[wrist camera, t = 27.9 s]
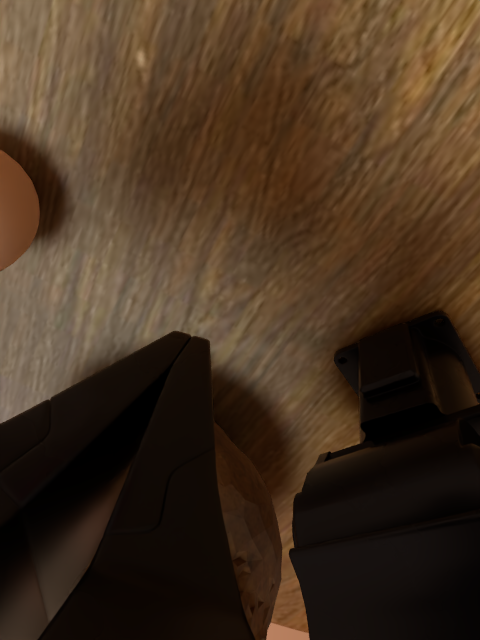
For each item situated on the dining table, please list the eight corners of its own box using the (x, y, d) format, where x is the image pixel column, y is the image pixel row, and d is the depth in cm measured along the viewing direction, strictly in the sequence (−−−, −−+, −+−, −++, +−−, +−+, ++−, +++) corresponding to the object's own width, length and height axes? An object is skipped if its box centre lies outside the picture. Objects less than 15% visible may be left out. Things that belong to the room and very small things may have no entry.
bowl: (147, 521, 40) (58, 728, 28) (18, 376, 32) (-183, 576, 20) (335, 504, 32) (325, 782, 20) (225, 309, 24) (101, 567, 12)
